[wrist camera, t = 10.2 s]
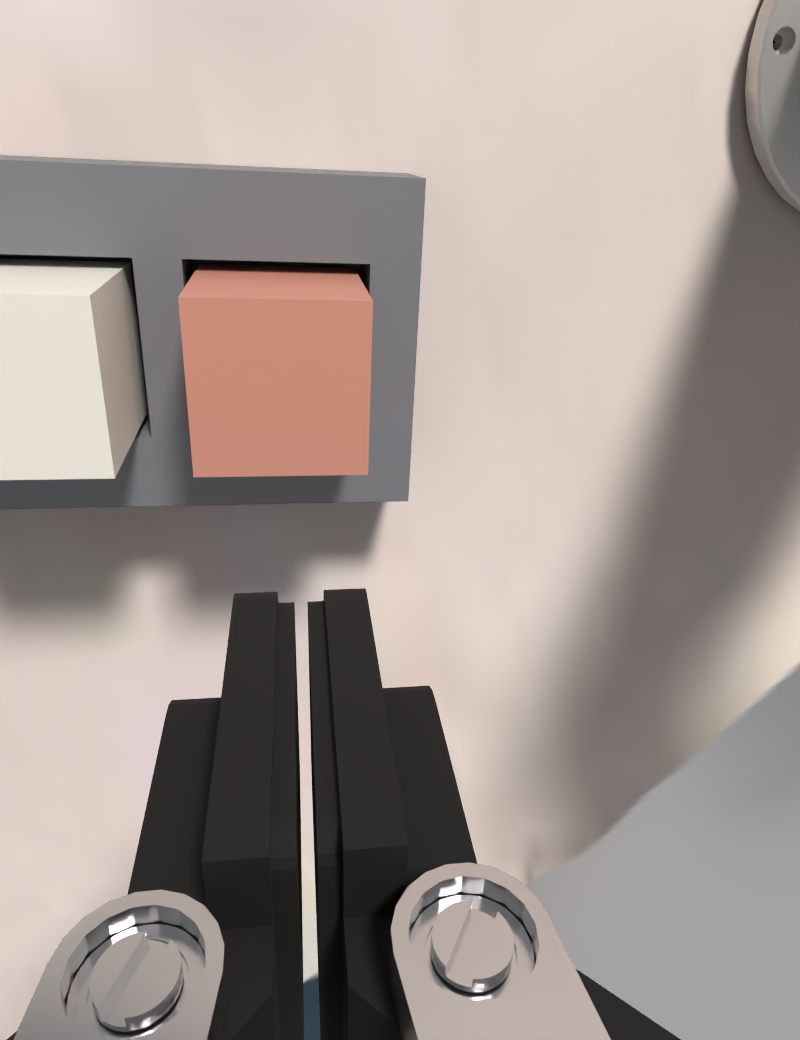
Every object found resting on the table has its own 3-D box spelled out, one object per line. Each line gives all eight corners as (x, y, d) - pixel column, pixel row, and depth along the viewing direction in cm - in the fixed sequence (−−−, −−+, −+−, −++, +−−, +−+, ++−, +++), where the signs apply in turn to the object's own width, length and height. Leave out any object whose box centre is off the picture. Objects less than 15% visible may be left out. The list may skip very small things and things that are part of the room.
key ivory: (130, 261, 27) (89, 295, 21) (147, 412, 29) (114, 478, 24) (-38, 257, 26) (-128, 291, 20) (-6, 412, 28) (-79, 481, 23)
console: (408, 173, 29) (425, 178, 25) (394, 463, 34) (408, 501, 31) (-363, 139, 25) (-470, 139, 21) (-242, 471, 30) (-311, 515, 27)
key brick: (354, 267, 28) (373, 301, 22) (351, 411, 30) (368, 474, 25) (199, 263, 27) (177, 296, 21) (210, 411, 30) (193, 477, 24)
